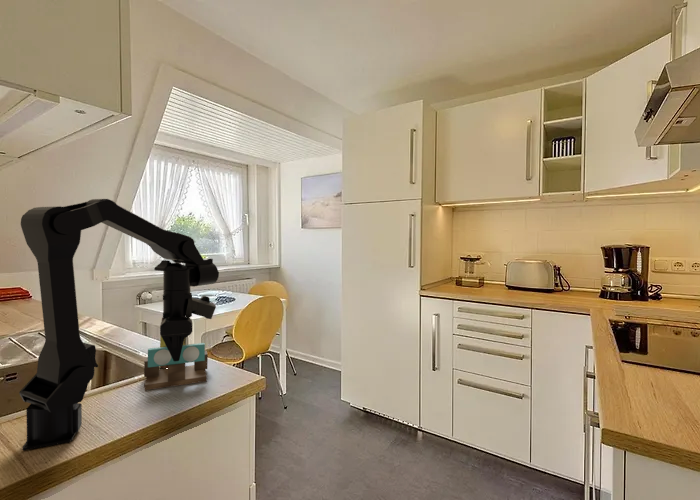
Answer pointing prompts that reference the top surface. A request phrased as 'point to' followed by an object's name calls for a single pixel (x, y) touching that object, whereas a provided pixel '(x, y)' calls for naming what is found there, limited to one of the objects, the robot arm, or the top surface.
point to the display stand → (175, 374)
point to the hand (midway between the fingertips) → (176, 354)
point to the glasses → (188, 354)
